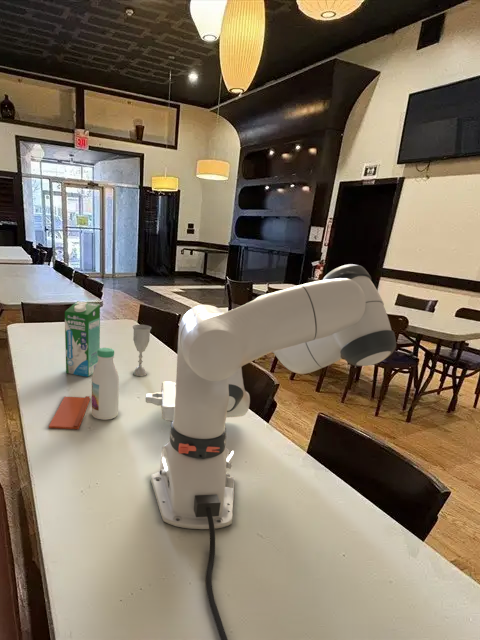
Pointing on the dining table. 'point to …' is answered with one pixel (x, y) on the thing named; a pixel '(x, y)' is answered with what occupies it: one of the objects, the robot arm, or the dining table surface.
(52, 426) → the roof tile
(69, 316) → the milk carton
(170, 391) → the robot arm
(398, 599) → the dining table surface
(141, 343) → the chalice
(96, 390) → the milk bottle
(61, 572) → the dining table surface
